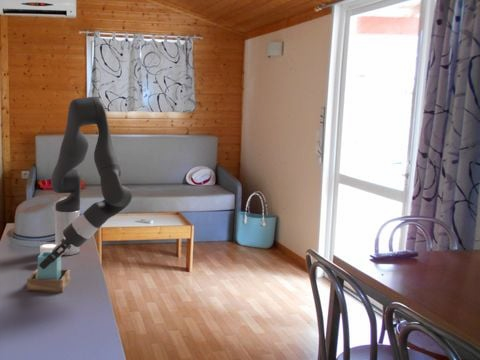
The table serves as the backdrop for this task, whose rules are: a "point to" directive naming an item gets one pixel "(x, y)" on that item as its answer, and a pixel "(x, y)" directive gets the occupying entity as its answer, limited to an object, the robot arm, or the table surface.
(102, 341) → the table surface
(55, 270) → the teal crate
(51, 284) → the walnut crate
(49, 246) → the white cylinder
